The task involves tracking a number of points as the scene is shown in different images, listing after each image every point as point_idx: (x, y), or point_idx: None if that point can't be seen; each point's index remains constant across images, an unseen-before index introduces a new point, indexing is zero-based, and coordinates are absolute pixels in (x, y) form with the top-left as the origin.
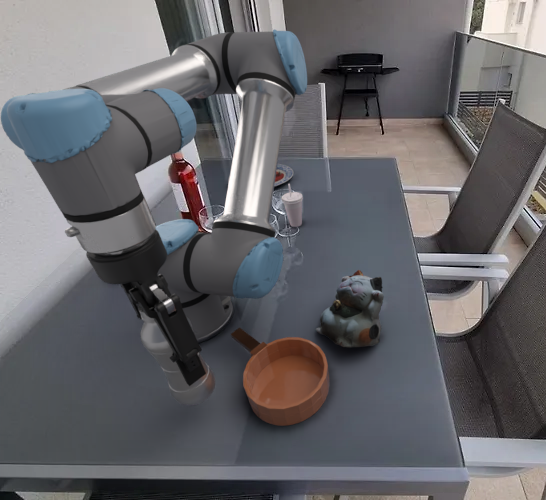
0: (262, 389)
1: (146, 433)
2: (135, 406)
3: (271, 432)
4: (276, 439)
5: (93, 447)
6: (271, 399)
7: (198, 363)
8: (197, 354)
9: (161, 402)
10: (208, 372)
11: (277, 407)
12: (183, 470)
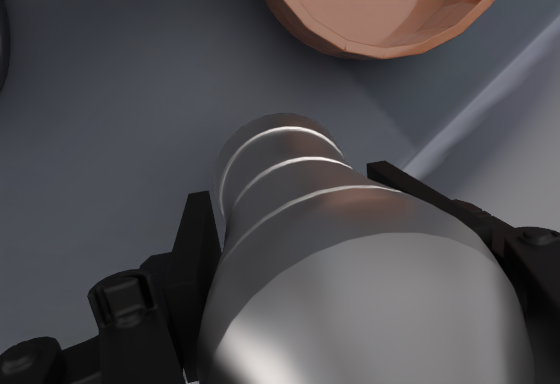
0: (318, 3)
1: None
2: None
3: (425, 54)
4: (446, 55)
5: None
6: (362, 2)
7: (475, 207)
8: (446, 198)
9: (165, 221)
10: (324, 137)
11: (477, 13)
12: None
